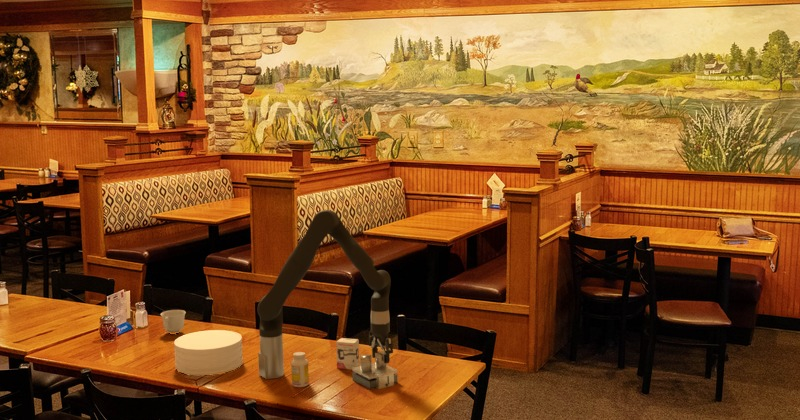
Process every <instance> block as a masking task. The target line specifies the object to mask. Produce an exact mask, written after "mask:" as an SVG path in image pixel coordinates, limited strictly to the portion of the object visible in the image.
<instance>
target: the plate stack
mask: <svg viewBox="0 0 800 420" xmlns="http://www.w3.org/2000/svg"><path fill="white" fill-rule="evenodd" d="M242 336H243V335H241V334H240V333H238V332H236V331H233V330H232V331H231V330H224V329H211V330H210V329H208V330H201V331H195V332H189V333H186V334H184V335H181V336H178V337H177V338H176V339H175V340H174V341H173V347H174V363H175V370H176V369H177V370H178V371H179V372H182V373H185V374H189V375H188V376H190V375H210V374H218V373H223V372H227V371H231V370H234V369H236V368H238V367H239V368H241V367H242V366H243V364H244V359H243V342H242V341H243V337H242ZM242 363H243V364H242ZM241 365H242V366H241ZM240 366H241V367H240ZM239 368H238V369H239ZM236 370H237V369H236ZM234 371H235V370H234ZM179 372H178V373H179ZM231 372H232V371H231Z"/></svg>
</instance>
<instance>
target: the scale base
mask: <svg viewBox="0 0 800 420" xmlns="http://www.w3.org/2000/svg"><path fill="white" fill-rule="evenodd" d="M351 373H352V374H351V375H352V381H353V382H355V383H358V384H360V385H361V386H363V387H365V388H367V389H368V390H373V389H378V390H380V389H386V388H389V387H394V386H395V384H397V383H398V382H399V381H398V374H397V373H393V372H388V373H384V374H380V375H376V378H373V379H368V378H366V377H364V376H362V375H360V374H358V373H356V372H354V371H353V372H351Z"/></svg>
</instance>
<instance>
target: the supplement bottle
mask: <svg viewBox="0 0 800 420" xmlns="http://www.w3.org/2000/svg"><path fill="white" fill-rule="evenodd" d="M292 356H293V359H292V360H291V361H290V366H291V367H290V368H291V369H290V371H291V385H292V386H293V387H295V388H304V387H307V386H308V385H309V383H310V379H309V378H310V377H309V375H310V374H309V360H308V359H307V358H306V353H305V352H304V351H303V352H302V351H296V352H294V353H293V354H292Z"/></svg>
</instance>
